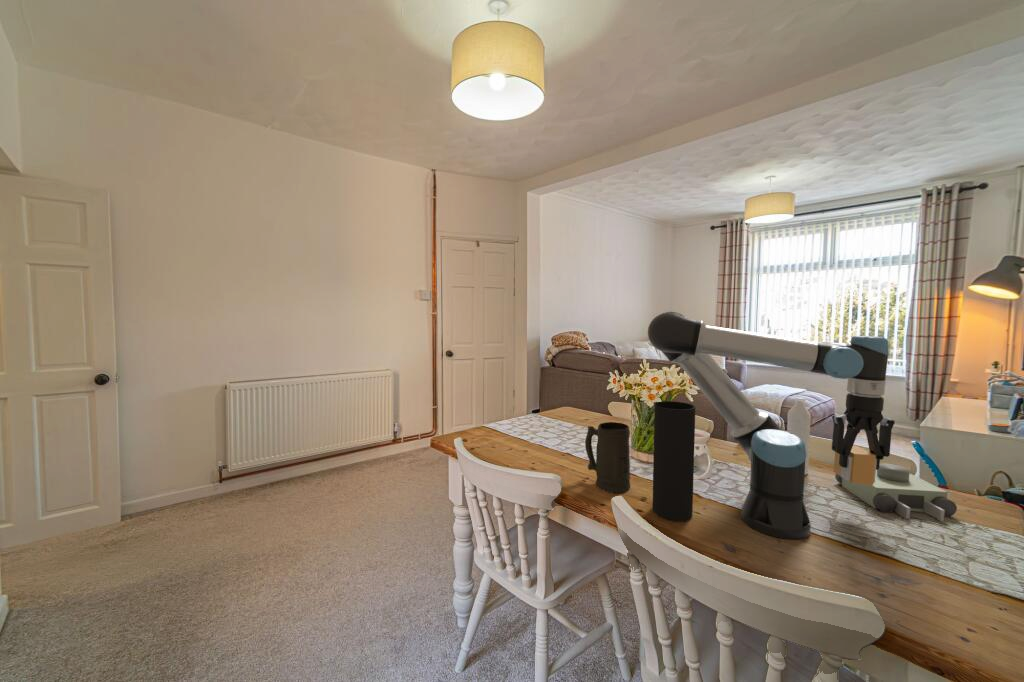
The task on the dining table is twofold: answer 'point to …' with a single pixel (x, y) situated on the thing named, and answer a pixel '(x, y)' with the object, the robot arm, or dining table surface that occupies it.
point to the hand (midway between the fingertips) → (857, 479)
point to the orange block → (859, 466)
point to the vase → (673, 460)
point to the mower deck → (902, 493)
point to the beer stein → (610, 456)
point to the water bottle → (800, 425)
